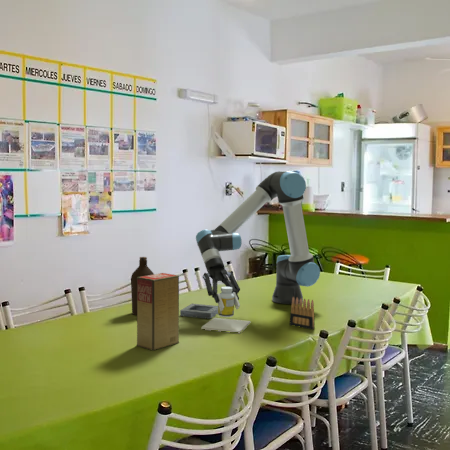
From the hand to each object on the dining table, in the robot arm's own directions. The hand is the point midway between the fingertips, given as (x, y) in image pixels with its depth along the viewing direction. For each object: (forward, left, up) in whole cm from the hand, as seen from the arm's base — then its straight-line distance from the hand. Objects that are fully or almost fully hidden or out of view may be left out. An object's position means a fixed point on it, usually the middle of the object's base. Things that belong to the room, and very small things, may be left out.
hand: (230, 308), depth 225 cm
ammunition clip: (-27, -14, -9) cm, 31 cm away
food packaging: (+18, +29, -9) cm, 36 cm away
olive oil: (+43, -10, -9) cm, 45 cm away
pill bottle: (+3, -3, -4) cm, 6 cm away
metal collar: (+19, -19, -8) cm, 28 cm away
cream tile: (+2, -3, -8) cm, 9 cm away
